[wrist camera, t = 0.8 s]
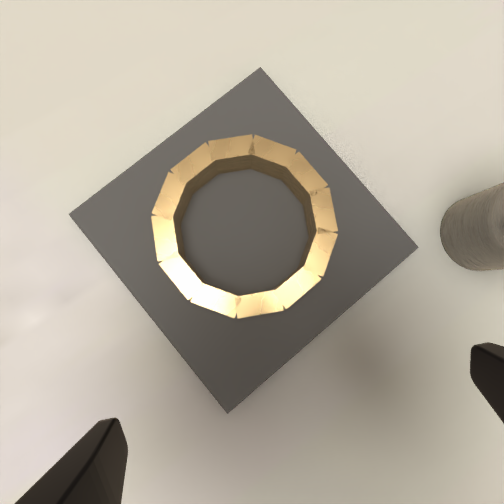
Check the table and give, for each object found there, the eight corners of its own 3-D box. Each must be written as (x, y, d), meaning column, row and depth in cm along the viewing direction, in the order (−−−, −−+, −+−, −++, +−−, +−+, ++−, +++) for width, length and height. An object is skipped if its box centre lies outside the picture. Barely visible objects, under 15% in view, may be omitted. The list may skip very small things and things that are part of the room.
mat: (414, 248, 23) (418, 247, 22) (227, 410, 22) (227, 413, 21) (260, 72, 24) (260, 67, 23) (73, 216, 23) (68, 214, 22)
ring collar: (357, 241, 22) (372, 235, 20) (233, 347, 21) (232, 355, 19) (255, 122, 23) (256, 102, 21) (130, 220, 22) (116, 211, 20)
